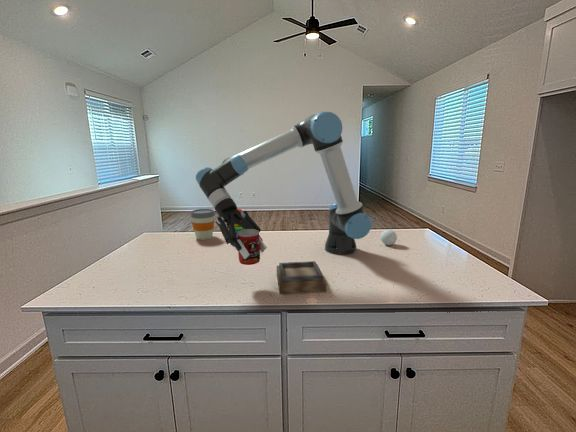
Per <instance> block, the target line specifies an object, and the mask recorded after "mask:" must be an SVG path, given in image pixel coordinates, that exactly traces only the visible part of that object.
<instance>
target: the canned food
mask: <svg viewBox="0 0 576 432" xmlns="http://www.w3.org/2000/svg"><path fill="white" fill-rule="evenodd" d="M259 235H260V232H259V231H258V230H256V229H244V230H240V231H238V232H237V239H238V240H239V239H240V240H241V242H242V243H243V245H244V246H245V248H246V250H247V251H248V253H249V254H250V255H249V256H248V257H247V258H246V259H244V258H243V256H242V255H241V253H240V251H237V255H238V261H239V263H240V264H242V265H246V266H251V265H255V264H259V262H260V260H261V251H260V243H259Z"/></svg>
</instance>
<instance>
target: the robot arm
mask: <svg viewBox="0 0 576 432" xmlns="http://www.w3.org/2000/svg"><path fill="white" fill-rule="evenodd" d="M342 133H343V123H342V120H341V119H340V117H339V116H338V115H337V114H336V113H334V112H332V111H320V112H318V113H316V114H312V115H309V116H308V117H306V118H305V119H304V120H302V121H301V122H299V123H297V124H295V125H293V126H292V127H291V129H290V130H287V131H286V132H283V133H281V134H279V135H277V136H275V137H272V138H269V139H267V140H266V141H264V142H261V143H259V144H257V145H254V146H252V147H250V148H248V149H246V150H244V151H241V152H239V153H236V154H235V155H232V156H231V157H227V158H225V159H223V161H222V163H221V164H220V165H219V166H217V167H215V168H213V169H212V167H209V166H208V167H204V168H201V169H200V170H199V171H197V173H196V174H195V180H196V182H197V184H198V185H199V188H200V189H201V190H202V192H203V194H204V195H205V196H206V199H207V200H208V201H209V203H210V204H211V206H212V208H213V209H214V212H216V214H217V215H218V217H217V218H216V220H215V224H216V225H217V226H218V228H219V230H220V232H221V235H222V237H223V238H224V240H225V241H224V242H225V243H226V244H228V245H229V244H230V246H234V248H235V249H236V251H237V252H238V251H240V253H241V255H242V256H243V258H244V259H246V258H247V257H248V256H249V255H250V254H249V253H248V251H247V250H246V248H245V246H244V245H243V243H242V242H241V240H240V239H239V240H238V241H237V235H236V231H235V226H234V224H237V225H239V226H241V227H242V228H244V229H256V230H258V231H259V233H260V232H261V230H262V229H261V227H259V225H258V224H257V223H256V222H255V221H254V220H253V219H252V217H251V216H250V215H249V212H248V211H247V210H244V211H243V212H240V211H239V210H238V209H239V208H238V206H237V204H236V202H235V200H234V199H233V198H232V196H231V195H230V193H229V192H228V191H227V189H226V188H225V187H226V186H228V185H229V184H230V183H232V182H233V181H235V180H236V179H238V178H239V177H241V176H243V175H244V174H245V173H247V172H248V171H249V169H251V168H254V167H256V166H258V165H260V164H262V163H265V162H267V161H269V160H271V159H273V158H276V157H278V156H280V155H282V154H284V153H286V152H288V151H291V150H293V149H296V148H297V147H299V148H303V147H305V146H309V145H313V146H312V147H313V149H314V151H315V153H317V154H319V155H320V158H321V162H322V163H323V167H324V169H325V173H326V175H327V179H328V182H329V186H330V187H331V192H332V194H333V197H334V199H335V202H334V203H330V204H329V209H328V213H329V214H328V215H329V216H328V236H327V238H326V240H325V243H324V250H325V251H326V252H327V253H331V254H334V255H351V254H354V253H355V252H357V244H356V243H357V242H356V240H360V239H363V238H365V237H366V236H367V235H369V233H370V231H371V229H372V226H373V223H372V218H371V217H370V216H369V214H367V213H366V212H365V208H364V205H363V203H362V202H360V201H359V200H358V198H357V196H356V192H355V188H354V186H353V183H352V180H351V176H350V173H349V169H348V166H347V163H346V160H345V158H344V157H345V156H344V154H343V151H342V147H341V146H342V145H343V142H344V140H343V137H342ZM240 221H241V222H240ZM259 243H260V253H264V252H265V250H266V249H267V246H266V244H265V243H264V242H263V238H262V237H261V236H260V234H259Z"/></svg>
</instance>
